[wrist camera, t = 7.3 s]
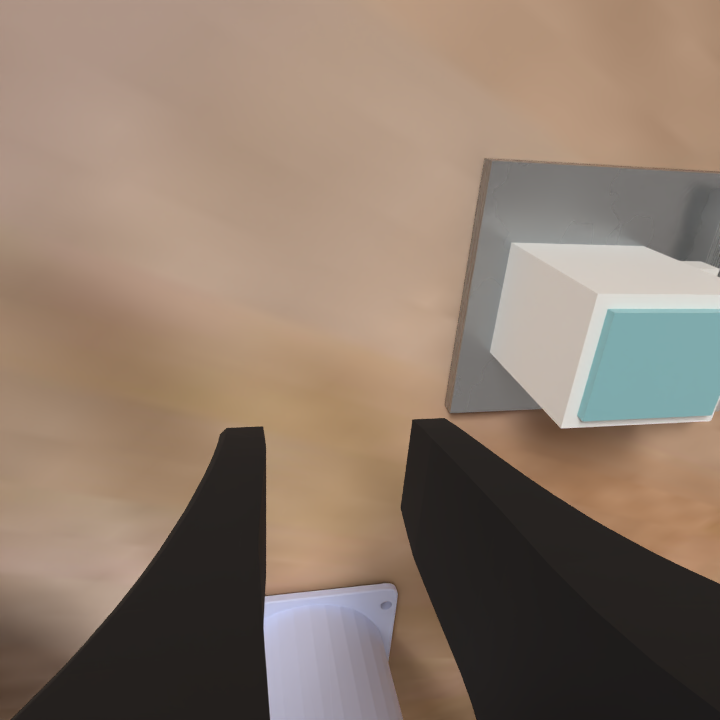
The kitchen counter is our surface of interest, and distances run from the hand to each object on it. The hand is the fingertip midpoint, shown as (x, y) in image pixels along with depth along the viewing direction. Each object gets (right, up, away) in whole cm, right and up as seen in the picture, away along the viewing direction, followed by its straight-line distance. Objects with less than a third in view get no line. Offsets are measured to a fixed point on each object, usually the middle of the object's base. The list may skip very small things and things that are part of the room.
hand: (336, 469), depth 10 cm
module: (+8, +4, +10) cm, 13 cm away
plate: (+10, +4, +11) cm, 15 cm away
